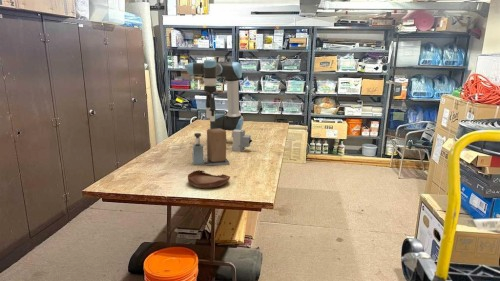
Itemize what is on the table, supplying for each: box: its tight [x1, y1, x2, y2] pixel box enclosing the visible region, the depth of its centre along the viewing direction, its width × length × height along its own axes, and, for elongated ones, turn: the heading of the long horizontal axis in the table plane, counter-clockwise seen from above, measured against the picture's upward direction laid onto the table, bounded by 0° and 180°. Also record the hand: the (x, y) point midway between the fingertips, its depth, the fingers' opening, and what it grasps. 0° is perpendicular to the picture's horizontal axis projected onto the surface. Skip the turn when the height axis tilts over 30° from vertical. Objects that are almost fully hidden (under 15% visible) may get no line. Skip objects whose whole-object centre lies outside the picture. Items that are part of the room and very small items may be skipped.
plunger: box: [194, 132, 202, 146], centre depth 214 cm, size 4×4×10 cm
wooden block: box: [206, 128, 227, 162], centre depth 218 cm, size 10×10×20 cm
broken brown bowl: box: [187, 169, 231, 189], centre depth 181 cm, size 22×20×5 cm
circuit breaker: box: [231, 129, 253, 153], centre depth 249 cm, size 8×14×15 cm, turn 78°
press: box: [192, 143, 230, 167], centre depth 218 cm, size 14×22×12 cm, turn 106°
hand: (210, 119), depth 213 cm, fingers open, 13 cm apart
